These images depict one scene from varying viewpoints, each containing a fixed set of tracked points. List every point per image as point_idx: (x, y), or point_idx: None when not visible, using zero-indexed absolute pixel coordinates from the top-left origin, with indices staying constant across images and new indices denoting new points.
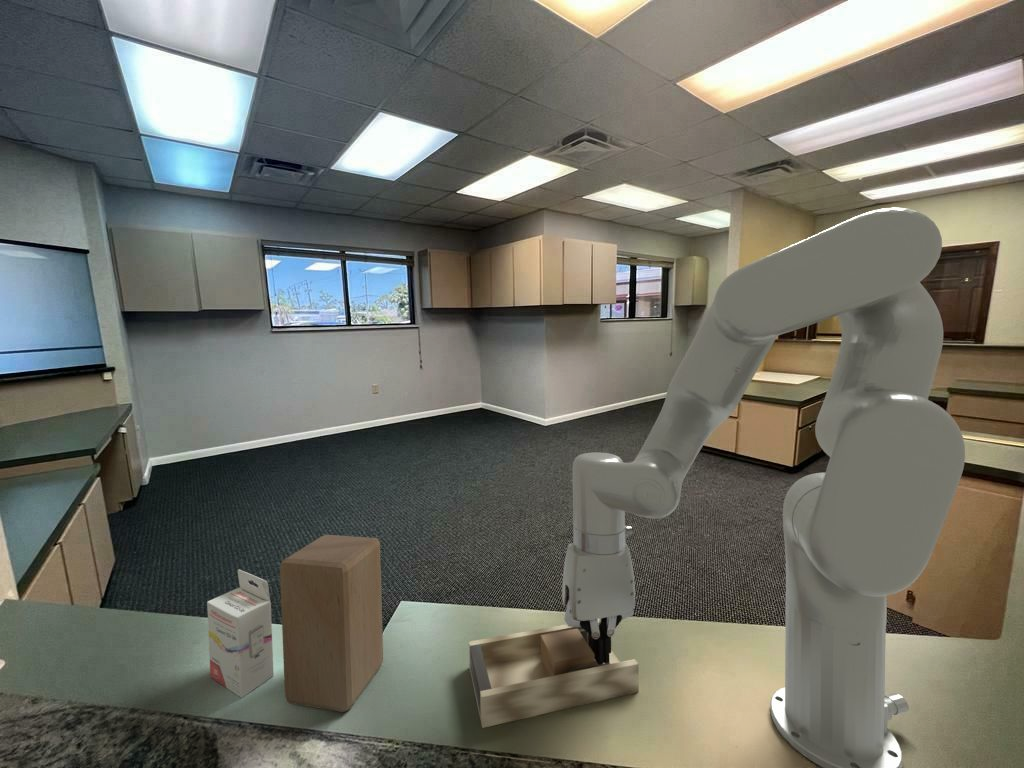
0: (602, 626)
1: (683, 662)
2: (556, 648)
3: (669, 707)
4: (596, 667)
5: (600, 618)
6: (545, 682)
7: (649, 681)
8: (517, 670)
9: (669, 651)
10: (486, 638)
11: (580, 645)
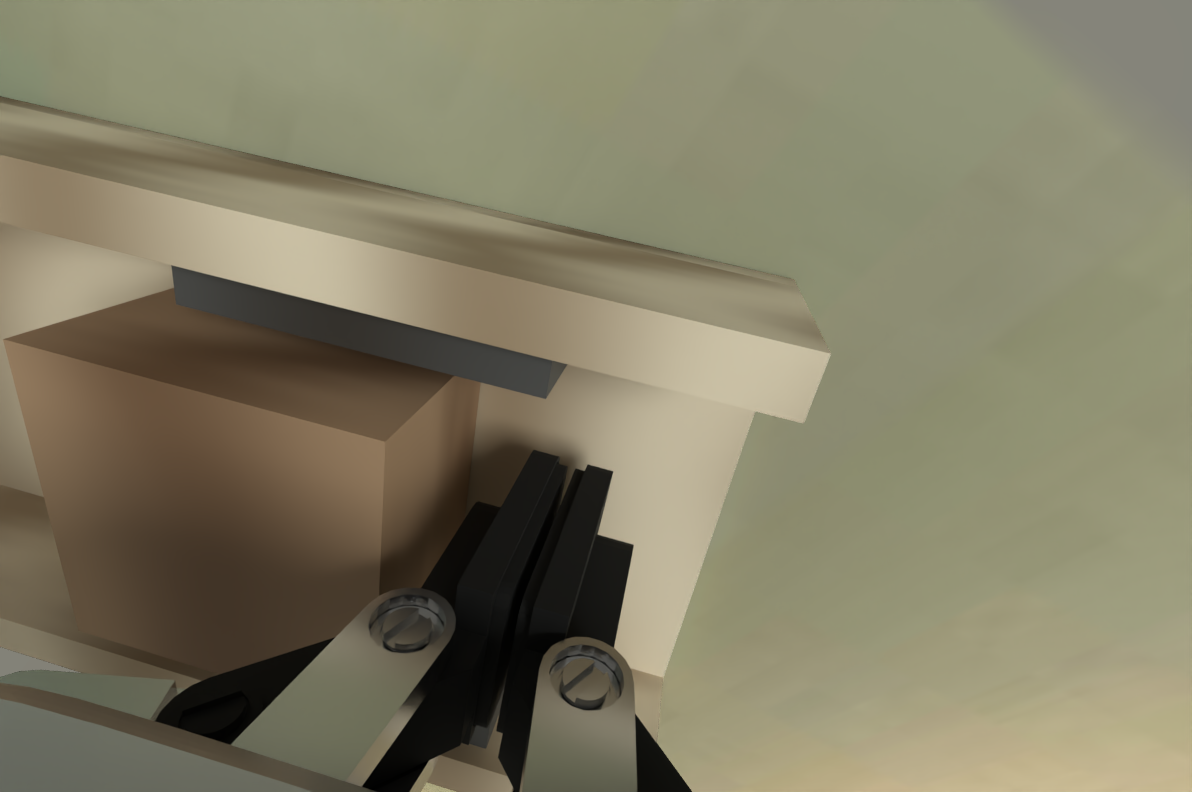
0: (514, 742)
1: (1108, 704)
2: (115, 546)
3: (715, 789)
4: None
5: (530, 730)
6: (42, 657)
7: (768, 675)
8: (50, 274)
9: (1153, 610)
10: None
11: (313, 615)
